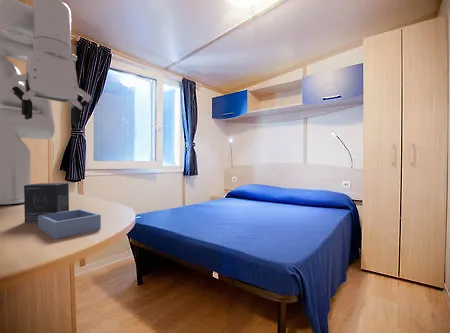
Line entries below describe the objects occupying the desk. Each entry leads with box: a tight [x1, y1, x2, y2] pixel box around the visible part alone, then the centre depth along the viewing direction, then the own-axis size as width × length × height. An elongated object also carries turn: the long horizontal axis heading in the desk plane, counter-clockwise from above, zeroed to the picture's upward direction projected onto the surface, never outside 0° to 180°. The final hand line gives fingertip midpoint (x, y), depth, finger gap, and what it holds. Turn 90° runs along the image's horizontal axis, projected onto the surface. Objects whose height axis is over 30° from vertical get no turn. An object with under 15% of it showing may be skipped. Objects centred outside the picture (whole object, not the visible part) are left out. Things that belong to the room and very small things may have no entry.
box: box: [23, 182, 70, 224], centre depth 61 cm, size 8×6×11 cm
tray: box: [37, 208, 102, 240], centre depth 55 cm, size 11×9×4 cm
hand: (53, 121), depth 57 cm, fingers open, 9 cm apart
